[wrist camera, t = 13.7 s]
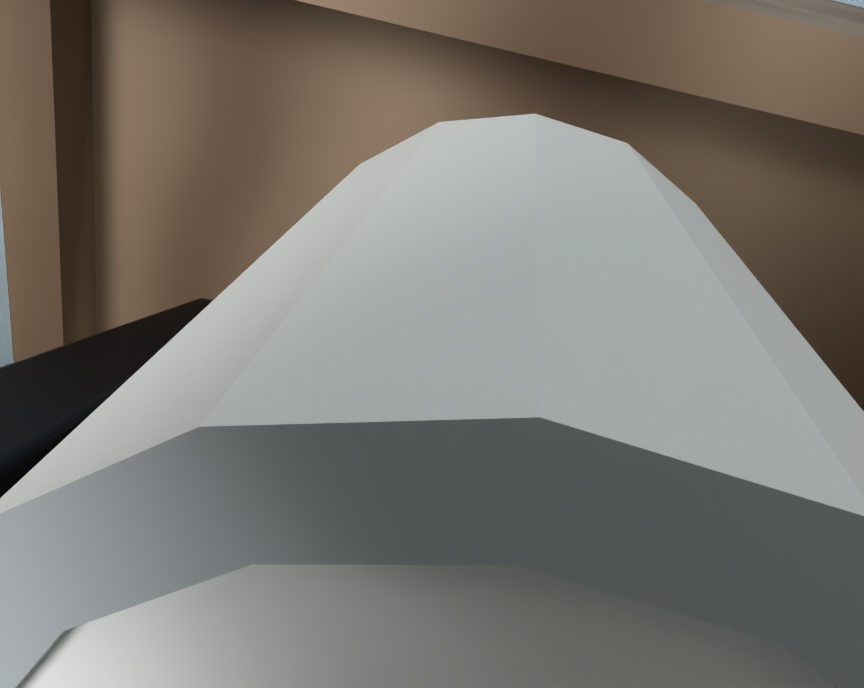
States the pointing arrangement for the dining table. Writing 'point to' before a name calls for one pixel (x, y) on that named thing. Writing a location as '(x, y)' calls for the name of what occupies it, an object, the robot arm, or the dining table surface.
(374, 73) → the tray
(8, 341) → the dining table surface
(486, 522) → the shot glass
